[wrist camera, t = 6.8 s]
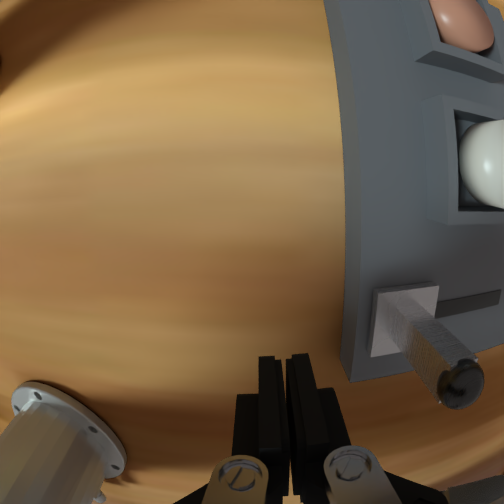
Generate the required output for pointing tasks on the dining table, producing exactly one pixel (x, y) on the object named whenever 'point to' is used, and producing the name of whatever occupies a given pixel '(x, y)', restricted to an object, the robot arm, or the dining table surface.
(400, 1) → the control panel
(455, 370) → the metal lever
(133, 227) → the dining table surface
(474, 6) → the terracotta button
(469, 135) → the cream button
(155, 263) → the dining table surface
